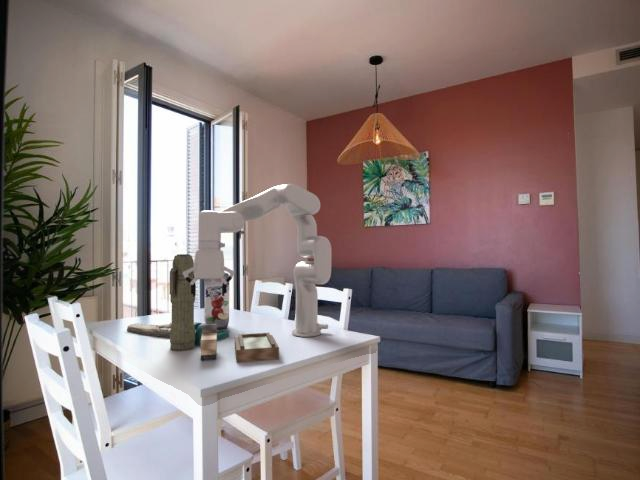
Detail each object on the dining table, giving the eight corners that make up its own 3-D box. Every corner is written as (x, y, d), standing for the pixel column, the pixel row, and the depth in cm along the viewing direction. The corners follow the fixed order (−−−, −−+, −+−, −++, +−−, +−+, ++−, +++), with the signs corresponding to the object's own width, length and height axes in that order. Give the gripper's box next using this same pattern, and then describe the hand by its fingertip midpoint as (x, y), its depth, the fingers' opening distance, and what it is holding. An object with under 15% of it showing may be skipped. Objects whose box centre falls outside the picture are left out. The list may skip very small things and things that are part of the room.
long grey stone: (139, 331, 174) (120, 336, 165) (138, 319, 174) (119, 325, 165) (198, 334, 160) (181, 340, 151) (197, 321, 160) (180, 327, 151)
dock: (271, 345, 143) (272, 331, 143) (278, 359, 126) (278, 343, 126) (234, 347, 140) (234, 333, 140) (236, 362, 122) (236, 346, 122)
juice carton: (203, 327, 174) (204, 269, 175) (226, 325, 179) (226, 269, 179) (206, 331, 166) (206, 270, 167) (230, 329, 171) (230, 270, 171)
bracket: (199, 346, 142) (199, 325, 143) (187, 344, 146) (187, 323, 146) (232, 336, 158) (232, 317, 158) (220, 334, 161) (220, 316, 162)
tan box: (216, 351, 134) (216, 324, 134) (216, 360, 124) (216, 330, 125) (202, 352, 133) (202, 324, 133) (200, 361, 123) (200, 331, 123)
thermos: (161, 351, 135) (162, 254, 136) (182, 342, 147) (182, 254, 147) (182, 353, 133) (183, 255, 133) (201, 344, 144) (202, 254, 145)
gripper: (234, 246, 135) (234, 294, 135) (184, 246, 131) (183, 295, 130) (235, 246, 128) (234, 296, 127) (182, 246, 123) (181, 298, 123)
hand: (208, 295), depth 129 cm, fingers open, 9 cm apart
